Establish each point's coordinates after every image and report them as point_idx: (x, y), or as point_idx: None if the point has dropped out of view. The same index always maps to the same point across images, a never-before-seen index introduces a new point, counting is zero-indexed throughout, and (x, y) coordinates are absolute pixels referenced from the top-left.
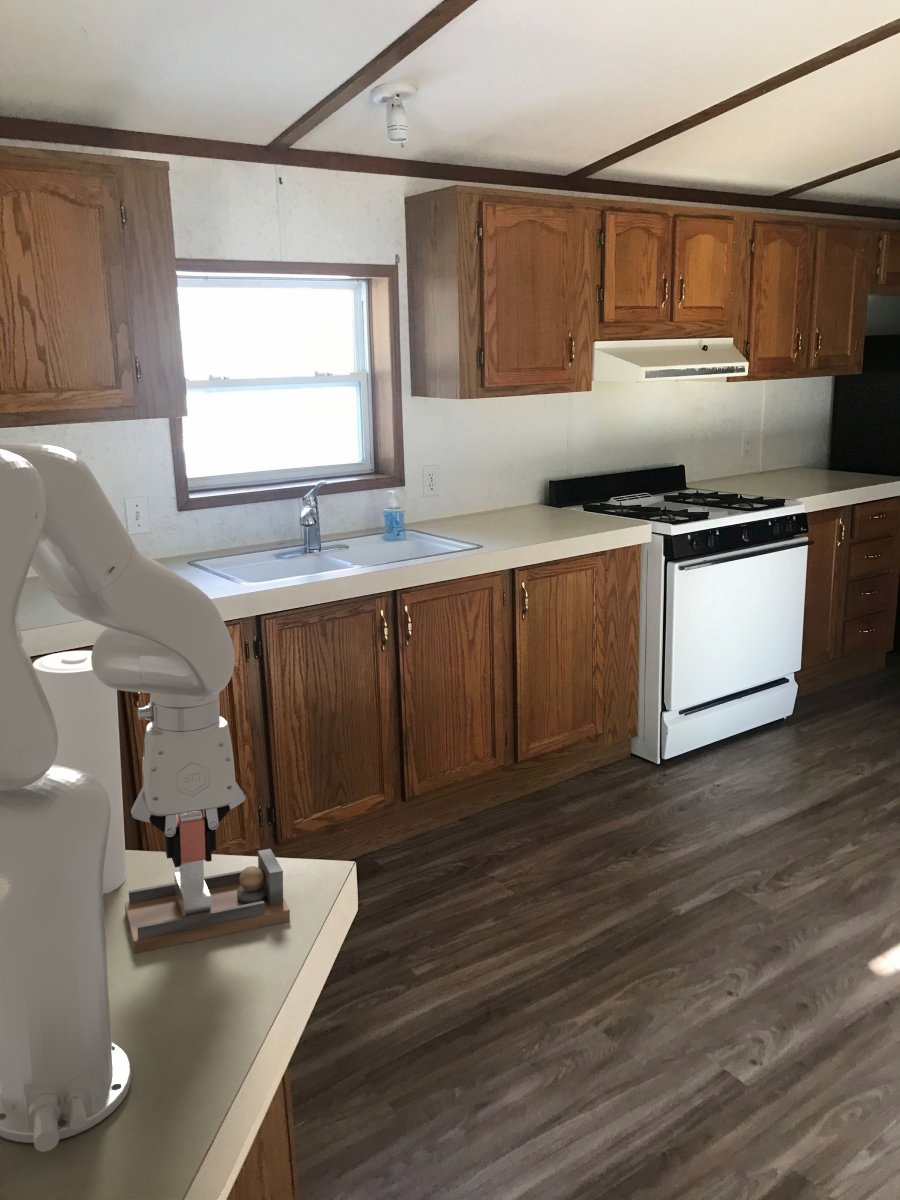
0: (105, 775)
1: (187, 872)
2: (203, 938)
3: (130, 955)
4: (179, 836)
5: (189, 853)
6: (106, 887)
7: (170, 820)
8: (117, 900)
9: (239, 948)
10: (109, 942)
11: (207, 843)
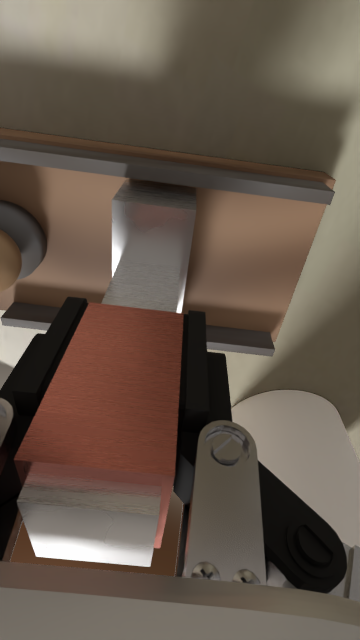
0: None
1: (162, 296)
2: (158, 150)
3: (335, 169)
4: (178, 410)
5: (145, 333)
6: (272, 400)
7: (229, 520)
8: (264, 367)
9: (77, 41)
10: (344, 246)
11: (56, 345)
